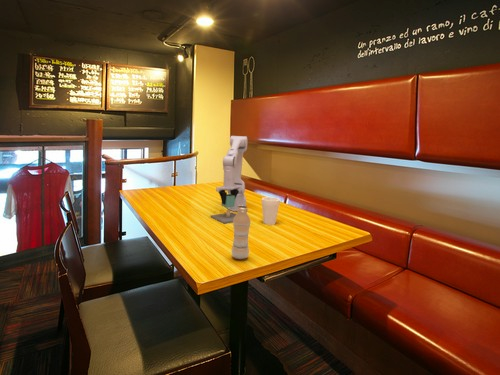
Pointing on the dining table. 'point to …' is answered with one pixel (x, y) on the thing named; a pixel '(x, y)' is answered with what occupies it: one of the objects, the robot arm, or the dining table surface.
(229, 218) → the stub board
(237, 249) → the plastic bottle
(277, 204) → the foam cup
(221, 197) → the robot arm
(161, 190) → the dining table surface
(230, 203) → the sleeve
